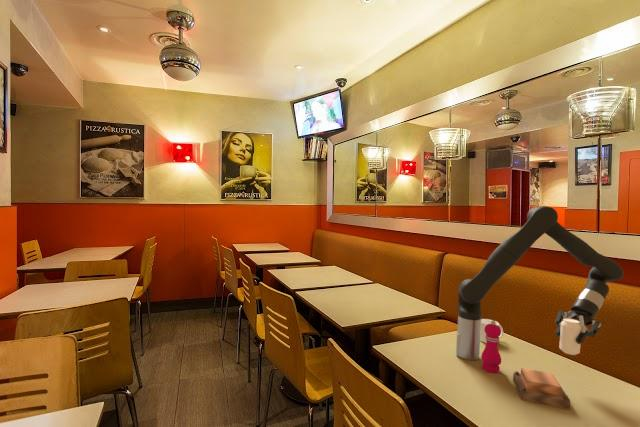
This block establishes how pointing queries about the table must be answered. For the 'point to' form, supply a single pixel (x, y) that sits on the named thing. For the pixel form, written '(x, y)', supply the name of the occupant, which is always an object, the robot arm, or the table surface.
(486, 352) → the pepper mill
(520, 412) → the table surface
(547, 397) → the brick plinth
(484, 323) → the mug
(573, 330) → the beverage can
